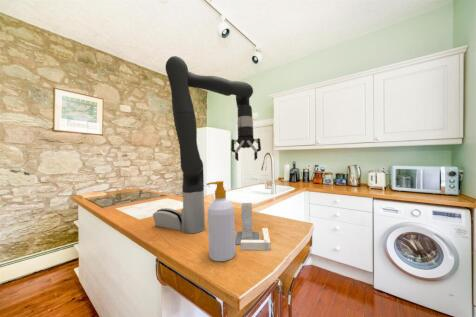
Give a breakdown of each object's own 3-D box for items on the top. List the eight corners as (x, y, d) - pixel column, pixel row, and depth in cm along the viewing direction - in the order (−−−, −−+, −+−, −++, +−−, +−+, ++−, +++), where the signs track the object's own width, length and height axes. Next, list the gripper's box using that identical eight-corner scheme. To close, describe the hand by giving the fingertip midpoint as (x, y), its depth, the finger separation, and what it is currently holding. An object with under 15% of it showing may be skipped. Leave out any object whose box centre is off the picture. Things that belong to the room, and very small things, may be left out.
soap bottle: (201, 256, 57) (199, 182, 57) (224, 245, 64) (221, 179, 64) (218, 266, 51) (215, 183, 51) (241, 253, 57) (238, 180, 58)
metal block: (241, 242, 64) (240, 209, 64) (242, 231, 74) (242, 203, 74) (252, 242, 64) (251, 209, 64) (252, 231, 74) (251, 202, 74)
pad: (234, 244, 64) (234, 244, 64) (237, 232, 75) (237, 231, 75) (259, 245, 63) (259, 244, 63) (258, 232, 74) (258, 231, 74)
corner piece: (240, 249, 60) (240, 242, 60) (242, 234, 72) (242, 228, 72) (270, 250, 59) (270, 242, 59) (267, 234, 72) (267, 228, 72)
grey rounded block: (189, 226, 83) (183, 208, 80) (182, 233, 79) (175, 214, 76) (163, 221, 90) (157, 205, 87) (156, 228, 86) (149, 210, 83)
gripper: (229, 126, 82) (230, 161, 82) (260, 124, 81) (261, 160, 81) (231, 129, 90) (232, 160, 90) (259, 127, 89) (260, 160, 89)
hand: (246, 160), depth 85 cm, fingers open, 8 cm apart
